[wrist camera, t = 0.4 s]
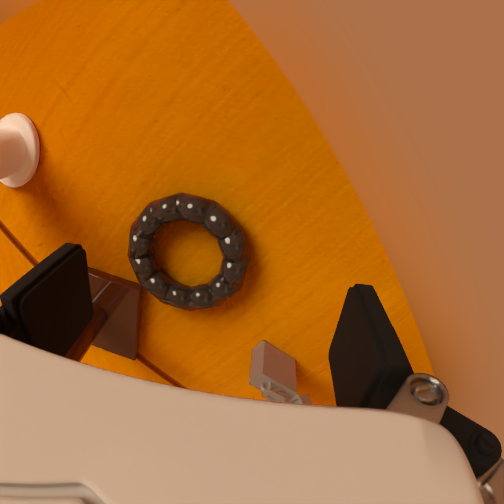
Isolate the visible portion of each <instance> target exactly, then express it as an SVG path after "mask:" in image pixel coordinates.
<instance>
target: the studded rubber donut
mask: <svg viewBox="0 0 504 504" xmlns="http://www.w3.org/2000/svg"><path fill="white" fill-rule="evenodd" d="M179 221H185V222H189V223H192V224H196V225H200V226H202V227H203V228H204V229H206V230H207V231H208V232H209V233H210V234H211V235H212V236H213V237H214V238H215V239H216V240H217V241H218V244H219V247H220V250H221V253H222V256H223V260H222V264H221V268H220V272H219V274H218V275H216V276H215V277H214V278H213V279H212V280H211V281H210V282H209V283H207V284H202V285H197V286H187V285H184V284H180V283H177V282H174V281H172V280H171V279H170V278H169V277H168V276H166V275H165V274H164V273H163V272H162V271H161V270H160V269H159V268H158V265H157V263H156V260H155V258H154V255H153V253H152V251H153V244H154V237H155V236H156V235H157V233H158V232H159V231H160V230H161V229H162V228H163V227H164V226H165V225H168V224H172V223H175V222H179ZM128 258H129V261H130V263H131V265H132V268H133V270H134V272H135V275H136V277H137V279H138V281H139V283H140V284H141V285H142V286H143V287H144V288H145V289H146V290H147V291H149V292H150V293H151V294H152V295H153V296H154V297H156V298H157V299H158V300H159V301H160V302H162V303H164V304H167V305H170V306H174V307H177V308H181V309H184V310H187V311H195V310H201V309H207V308H213V307H217V306H220V305H221V304H223V303H224V302H225V301H226V300H227V299H229V298H230V297H231V296H232V295H233V294H235V293H236V292H237V291H238V290H239V289H240V288H241V287H242V285H243V282H244V279H245V275H246V272H247V269H248V265H249V262H250V253H249V250H248V246H247V243H246V239H245V236H244V233H243V229H242V227H241V225H240V224H239V223H238V222H237V221H236V220H235V219H234V218H233V217H232V216H231V215H230V214H229V213H228V212H227V211H226V210H225V209H224V208H223V207H222V206H221V205H220V204H218V203H217V202H216V201H213V200H210V199H206V198H202V197H199V196H195V195H191V194H187V193H178V194H175V195H171V196H168V197H164V198H161V199H158V200H155V201H152V202H150V203H149V204H148V205H147V206H146V208H145V209H144V210H143V211H142V213H141V214H140V215H139V216H138V217H137V219H136V220H135V221H134V222H133V224H132V225H131V228H130V236H129V246H128Z"/></svg>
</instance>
